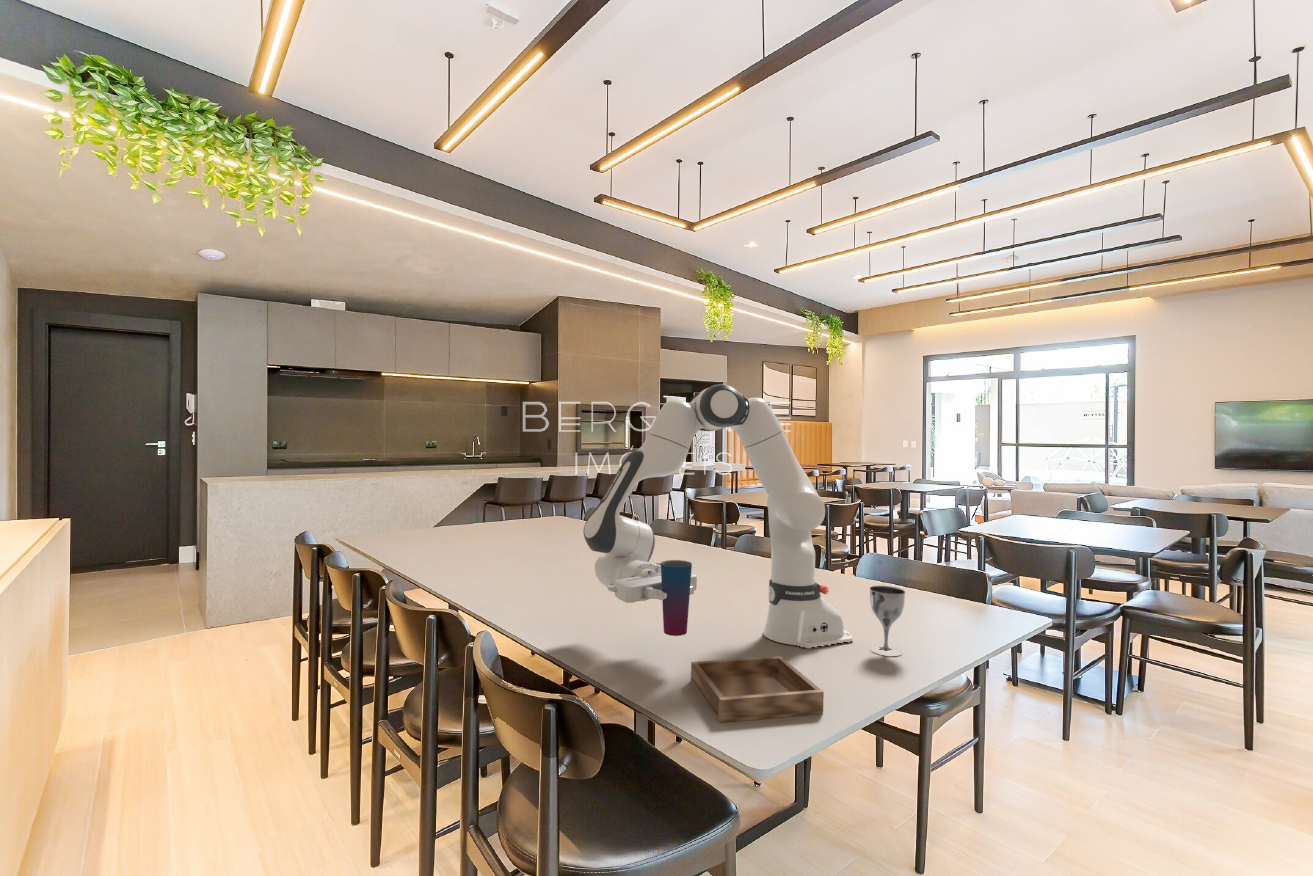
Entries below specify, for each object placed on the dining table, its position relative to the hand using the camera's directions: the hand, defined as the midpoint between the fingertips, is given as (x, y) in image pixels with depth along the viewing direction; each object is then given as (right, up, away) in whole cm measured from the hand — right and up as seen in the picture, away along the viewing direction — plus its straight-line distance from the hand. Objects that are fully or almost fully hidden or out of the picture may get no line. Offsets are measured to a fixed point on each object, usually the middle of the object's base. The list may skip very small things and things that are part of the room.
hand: (678, 593), depth 125 cm
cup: (-1, -9, +1) cm, 9 cm away
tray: (+14, -17, -12) cm, 25 cm away
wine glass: (+51, -18, +15) cm, 56 cm away
